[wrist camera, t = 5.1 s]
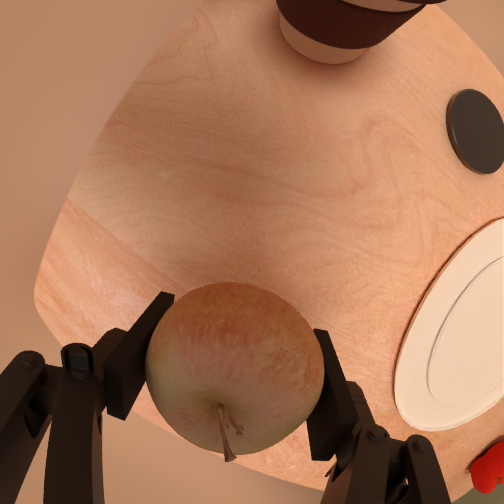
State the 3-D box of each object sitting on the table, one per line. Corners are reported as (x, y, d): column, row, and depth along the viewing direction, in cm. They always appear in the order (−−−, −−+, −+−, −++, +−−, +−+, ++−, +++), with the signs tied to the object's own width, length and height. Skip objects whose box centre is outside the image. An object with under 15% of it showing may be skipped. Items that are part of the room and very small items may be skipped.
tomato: (516, 425, 29) (536, 451, 20) (490, 461, 31) (505, 487, 23) (482, 443, 29) (502, 475, 20) (455, 479, 32) (470, 508, 23)
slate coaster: (449, 75, 18) (454, 73, 17) (504, 114, 18) (509, 113, 17) (440, 153, 19) (445, 152, 19) (496, 186, 20) (501, 187, 19)
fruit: (326, 360, 15) (358, 476, 8) (209, 393, 16) (183, 501, 9) (283, 237, 14) (306, 317, 6) (149, 287, 15) (66, 379, 7)
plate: (408, 455, 28) (410, 458, 27) (359, 299, 22) (362, 302, 22) (546, 351, 24) (548, 353, 24) (544, 178, 19) (548, 178, 18)
